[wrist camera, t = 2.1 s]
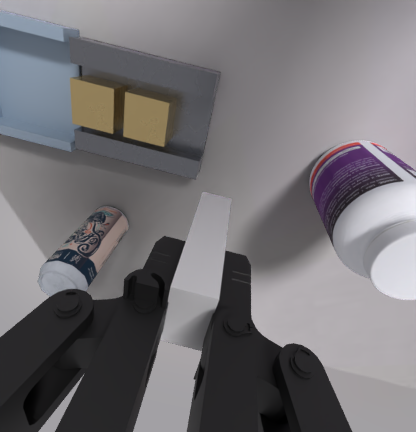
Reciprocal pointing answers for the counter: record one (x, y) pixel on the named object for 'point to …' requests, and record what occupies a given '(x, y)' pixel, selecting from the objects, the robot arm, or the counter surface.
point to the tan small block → (97, 103)
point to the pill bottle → (369, 213)
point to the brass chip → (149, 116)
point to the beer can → (84, 252)
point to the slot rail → (156, 82)
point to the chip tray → (36, 81)
